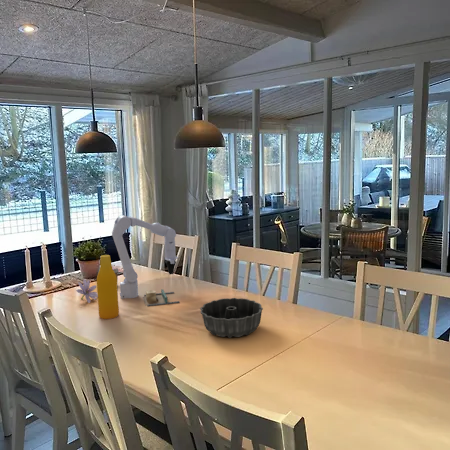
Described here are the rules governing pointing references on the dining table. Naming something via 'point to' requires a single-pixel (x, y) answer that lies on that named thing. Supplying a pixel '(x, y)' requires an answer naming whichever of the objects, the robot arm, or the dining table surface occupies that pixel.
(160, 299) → the clear flat box
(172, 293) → the lane rails
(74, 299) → the dining table surface
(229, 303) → the bundt pan
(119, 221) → the robot arm
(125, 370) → the dining table surface
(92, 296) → the water lily
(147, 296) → the maple cube
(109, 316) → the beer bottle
